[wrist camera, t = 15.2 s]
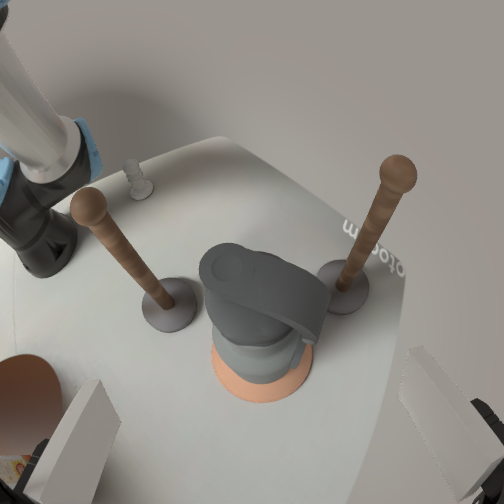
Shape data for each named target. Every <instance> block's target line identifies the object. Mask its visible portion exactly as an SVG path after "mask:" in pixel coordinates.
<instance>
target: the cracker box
mask: <svg viewBox="0 0 504 504" xmlns="http://www.w3.org/2000/svg"><path fill="white" fill-rule="evenodd" d="M30 457H31V456H30V455H20V456H0V479H2V480H3V481H4V482H5V483H6V484H7V485H8V486H9V487H10V488H11V489H12V490H13V489H14V488H15V486H16V484H17V482H18V480H19V478H20V476H21V474H22V472H23V470H24V469H25V467H26V465H27V464H28V461H29V459H30Z"/></svg>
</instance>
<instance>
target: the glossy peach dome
mask: <svg viewBox="0 0 504 504" xmlns="http://www.w3.org/2000/svg"><path fill="white" fill-rule="evenodd" d="M311 362H312V346H311V345H310V344H306V347H305V350H304V353H303V355H302V358H301V361H300V363H299V365H298V367H297V368H296V369H292V368H290V369H289V371H288V372H287V373H286V374H285V375H284V376H283V377H282V378H280V379H279V380H277V381H275V382H272V383H269V384H254V383H250V382H247V381H245V380H243V379H242V378H241V377H239V376H238V375H237V374H236V373H235V372H234V371H233V370H232V369H230V368H229V367H228V366H227V365H226V364H225V363H224V361H223V360H222V359H221V358H220V356H219V354H218V353H217V351H216V349H215V345H214V342H213V346H212V364H213V367H214V371H215V373H216V375H217V377H218V379H219V381H220V382H221V383H222V385H223V386H224V387H225V388H226V389H227V390H228V391H229V392H231V393H232V394H234V395H235V396H237V397H239V398H241V399H244V400H246V401H251V402H258V403H265V402H272V401H276V400H279V399H282V398H284V397H286V396H288V395H289V394H291V393H292V392H294V391H295V390H296V389H297V388H298V387H299V386H300V385H301V384H302V382H303V381H304V380H305V378H306V376H307V374H308V372H309V369H310V366H311Z"/></svg>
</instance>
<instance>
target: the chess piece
mask: <svg viewBox="0 0 504 504" xmlns="http://www.w3.org/2000/svg"><path fill="white" fill-rule="evenodd" d="M123 171H124V172H125V173H126V174H127V175H126V177H127V179H128V181H129V182H130V183H132V185H133V186H132V187H131V190H130V195H131V197H132V198H133V199H135V200H142V199H145V198H147V197H148V196H149V195H150V194H151V193H152V191H153V184H152V182H151V181H149V180H144V179H143V173H142V171H141V169H140V168H139V163H138V162H137V161H136V160H134V159H129V160H127V161H126V162H125V163H124V165H123Z"/></svg>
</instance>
